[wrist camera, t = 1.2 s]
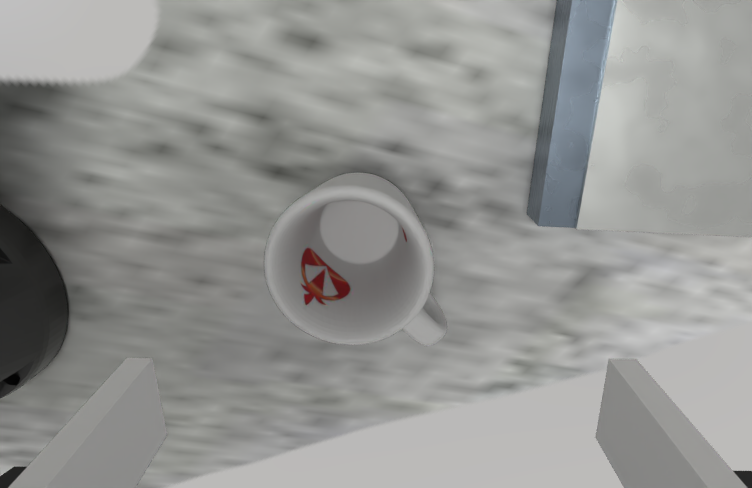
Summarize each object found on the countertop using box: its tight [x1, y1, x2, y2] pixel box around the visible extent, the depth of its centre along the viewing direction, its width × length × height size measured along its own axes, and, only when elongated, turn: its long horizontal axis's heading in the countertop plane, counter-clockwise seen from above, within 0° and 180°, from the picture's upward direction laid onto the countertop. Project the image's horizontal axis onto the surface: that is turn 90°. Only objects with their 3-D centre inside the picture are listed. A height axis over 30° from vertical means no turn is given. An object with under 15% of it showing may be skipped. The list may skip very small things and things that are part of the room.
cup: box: [264, 173, 447, 346], centre depth 26 cm, size 11×8×8 cm
